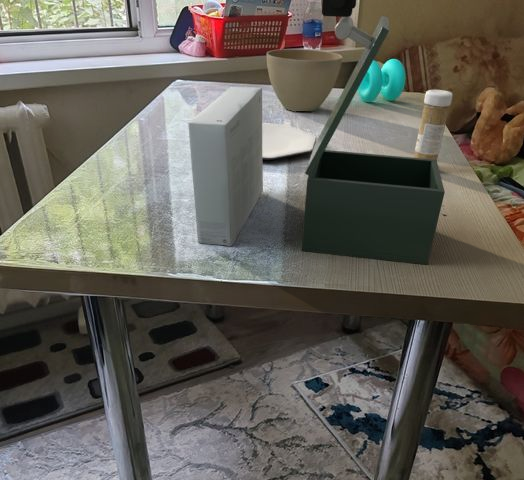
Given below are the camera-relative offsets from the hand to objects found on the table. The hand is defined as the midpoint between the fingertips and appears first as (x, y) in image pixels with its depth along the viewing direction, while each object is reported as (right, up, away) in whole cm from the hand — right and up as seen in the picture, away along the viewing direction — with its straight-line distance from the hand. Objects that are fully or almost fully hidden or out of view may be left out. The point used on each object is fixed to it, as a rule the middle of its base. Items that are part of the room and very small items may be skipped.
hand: (339, 11), depth 62 cm
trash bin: (+6, -23, +15) cm, 28 cm away
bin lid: (+2, -7, +5) cm, 9 cm away
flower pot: (+1, +22, +75) cm, 79 cm away
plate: (-10, +3, +49) cm, 50 cm away
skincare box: (-13, -18, +20) cm, 30 cm away
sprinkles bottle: (+21, -5, +40) cm, 46 cm away
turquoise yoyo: (+22, +28, +85) cm, 92 cm away
